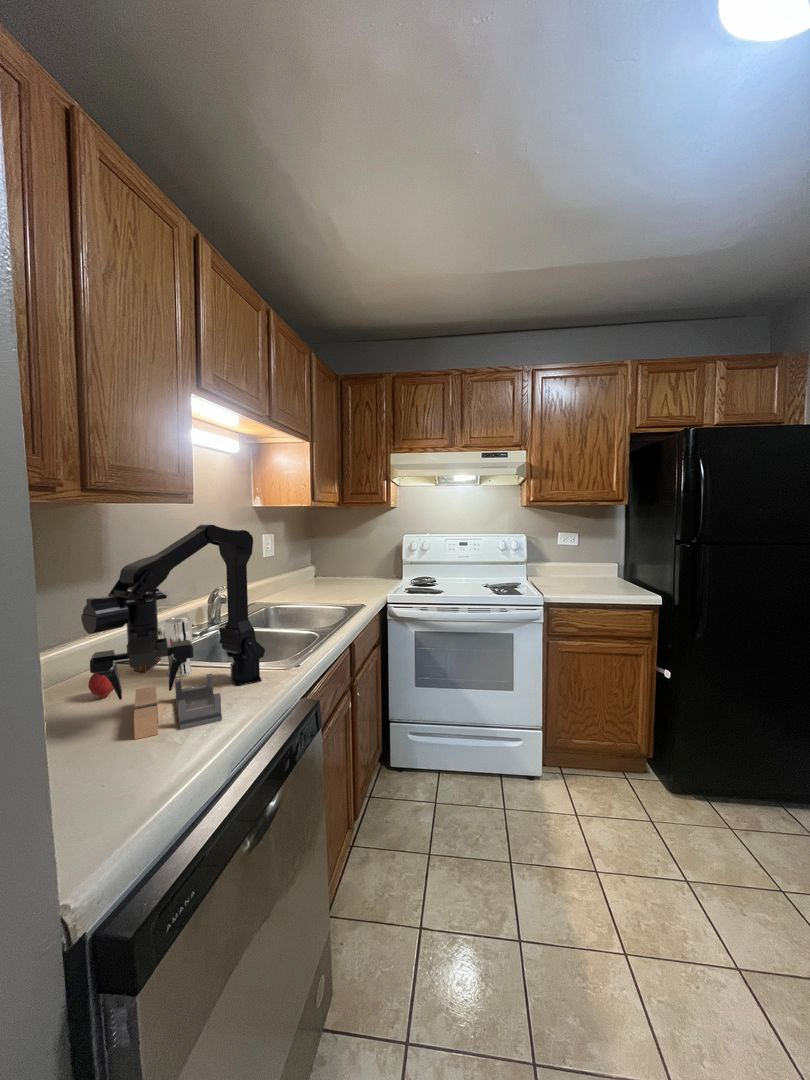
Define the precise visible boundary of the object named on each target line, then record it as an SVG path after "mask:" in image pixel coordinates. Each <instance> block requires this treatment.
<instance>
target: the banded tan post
mask: <svg viewBox="0 0 810 1080" xmlns="http://www.w3.org/2000/svg"><path fill="white" fill-rule="evenodd" d="M134 697H135V698H134V706H133V729H134V730H133V731H134V740H139V739H144V738H147V737H152V736H156V735H159V727H158V725H159V715H158V713H159V712H158V711H159V710H158V702H157V687H156V685H155V686H149V687H142V688H138V689H135V696H134Z"/></svg>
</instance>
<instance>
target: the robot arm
mask: <svg viewBox="0 0 810 1080" xmlns="http://www.w3.org/2000/svg"><path fill="white" fill-rule="evenodd" d="M209 544H210V545H214V546H218V549H219V550H218V551H219V554H220V557H221V558H222V561H224V563H225V567H226V590H227V591H226V596H227V597H226V598H227V602H226V603H227V621H226V623H225V626H224V627H219V642H218V644H220V645H221V648H222V649H223V650H224V651H225V652H226V655H227V657H229V658H232V663H230V666H229V667H230V668H229V669H230V679H231V682H233V683H234V685H235V686H241V684H242V685H246V684H245V683H248V684H252V683H251V682H253V683H256V682H257V681H258V682H261V681H262V677H261V675H260V674H261V672H260V668H261V667H260V659H262V658H264V656H265V651H266V648H265V647H263V646H262V645H261V644H260V643H259V642H258V641H257V638H256V637H257V636H256V631H255V628H254V627H253V624H252V623H251V621H250V620H249V607H248V606H249V605H248V604H249V601H248V600H249V599H248V596H249V595H248V571H247V570H248V563H249V561H250V558H251V556H252V554H253V548H254V547H253V546H254V537H253V535H252V534H251V533H250V532H249V531H248V530H244V529H229V528H225V527H224V528H223V527H220V526H217V525H215V524H199V525H198V526H197V527H195V529H193V530H192V531H190V532H188V533H187V534H185V535H184V536H183V537H181V538H179V539H178V540H176V541H175V542H173V543H171V544H170V545H168V546H167V547H165V548H164V549H162V550H160V551H159V552H158V553H155V554H153V555H151V556H148V557H144V558H140V559H138V560H136V561H133V562H131V563H129V564H127V565H125V566H123V568H121V570H120V571H119V572H120V574H119V578H118V580H117V581H116V582H115V584H114V586H113V587H112V588H111V590H110V591H109V593H108V594H107V596H103V597H90V598H87V599H86V604H85V606H84V608H83V610H82V614H80V615H81V623H82V626H83V629H84V631H85V632H86V633H87V634H89V635H92V634H98V633H101V632H106V631H111V630H115V629H120V628H123V627H124V626H125V625H126V633H127V634H126V636H127V643H126V644H127V645H126V652H125V653H124V652H123V653H115V649H111V650H104V651H96V652H94V653H93V654H92V655H91V658H90V660H89V673H91V674H94V673H96V672H98V675H100V676H101V675H105V676H106V677H107V678H108V679H109V681H110V682H111V684H112V685H113V687H114V690H113V691H114V692H115V694H116V695H117V697H118V699H119V701H121V700H122V699H123V690H122V685H121V679H120V673H119V667H118V664H122V663H123V664H124V663H129V667H130V668H131V669H134V668H138V667H140V666H147V665H149V666H152V665H155V664H156V663H157V658H158V657H161V658H164V657H168V656H171V660H170V672H169V676H168V691H169V692H171V691H172V689H173V685H174V684H175V680H176V677H175V676H176V673H177V671H178V669H179V667H180V665H181V664H182V663H184V662H187V659H188V658H190V659H191V658H194V647H193V646H194V645H193V642H192V643H191V642H190V641H189V640H183V641H176V642H172V647H167V638H164V637H163V638H161V639H159V638H158V628H159V624H158V623H159V621H158V620H159V619H158V600H165V599H167V598H168V596H167V594H164V593H163V592H162V591H161V590H160V589H159V588H158V587H159V586H160V585H161V584H162V583H163V582H164V581H165V580H166V579H167V578H168V576H169V574H170V573H171V572H172V571H173V570H174V569H175V567H177V566H179V565H180V564H181V563H183V562H184V561H186V560H187V559H189V558H190V557H191V556H193V555H194V554H196V553H198V552H199V551H200V550H202V549H203V548H204V547H206V546H207V545H209Z"/></svg>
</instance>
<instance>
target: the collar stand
mask: <svg viewBox="0 0 810 1080" xmlns="http://www.w3.org/2000/svg"><path fill="white" fill-rule="evenodd" d="M205 676H206V677H205V678H206V680H205V681H206V682H205V683H206V684H202V685H196V686H190V687H185V688H182V680H181V679H182V678H177V679H176V678H175V680H174V688H175V689H174V691H175V696H174V697H175V704H176V710H177V711H176V712H177V716H178V718H177V719H178V722H179V723H178V724H179V728H180V729H179V730H180V731H181V730H186V729H190V728H194V727H199V726H204V725H208V724H213V723H217V721H218V722H222V721H223V715H222V701H221V700H222V698H221V693H220V692H217V693H214V682H213V681H214V679H213V678H214V677H213V674H212V673H206V675H205ZM221 720H222V721H221Z"/></svg>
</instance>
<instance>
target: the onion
mask: <svg viewBox="0 0 810 1080" xmlns="http://www.w3.org/2000/svg"><path fill="white" fill-rule="evenodd" d="M88 680H89V681H88V683H87V684H88V689H89V691H90V692H91V693H92V694H93V695H94V696H97V697H99V698H103V699H104V698H107V697H108V696H109V695H110V694H111V693H112V692H113V691H115V690H114V687H113V685H112V684H111V682H110V681H109V679H108V678H107V677H106V676H105V675H101V676H100V675H98V672H96V673H92V675H91V676H90V677H89V679H88Z"/></svg>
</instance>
